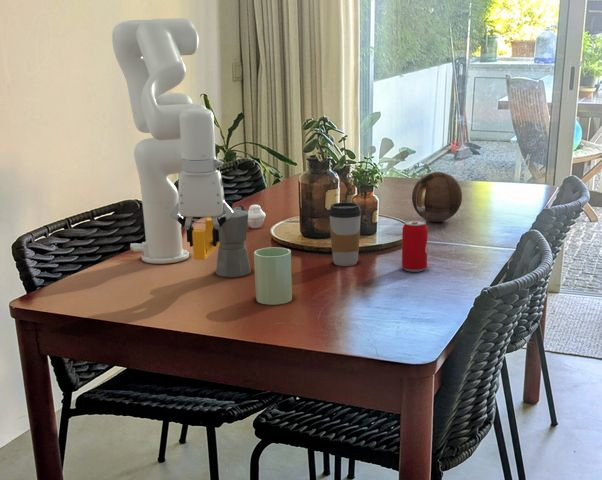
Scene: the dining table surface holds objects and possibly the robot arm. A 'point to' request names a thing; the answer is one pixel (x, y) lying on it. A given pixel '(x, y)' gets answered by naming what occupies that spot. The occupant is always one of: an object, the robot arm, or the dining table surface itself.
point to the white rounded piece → (255, 216)
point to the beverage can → (414, 245)
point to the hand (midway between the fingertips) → (203, 244)
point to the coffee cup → (345, 232)
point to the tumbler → (273, 275)
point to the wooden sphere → (437, 196)
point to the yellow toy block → (203, 241)
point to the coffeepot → (233, 245)
